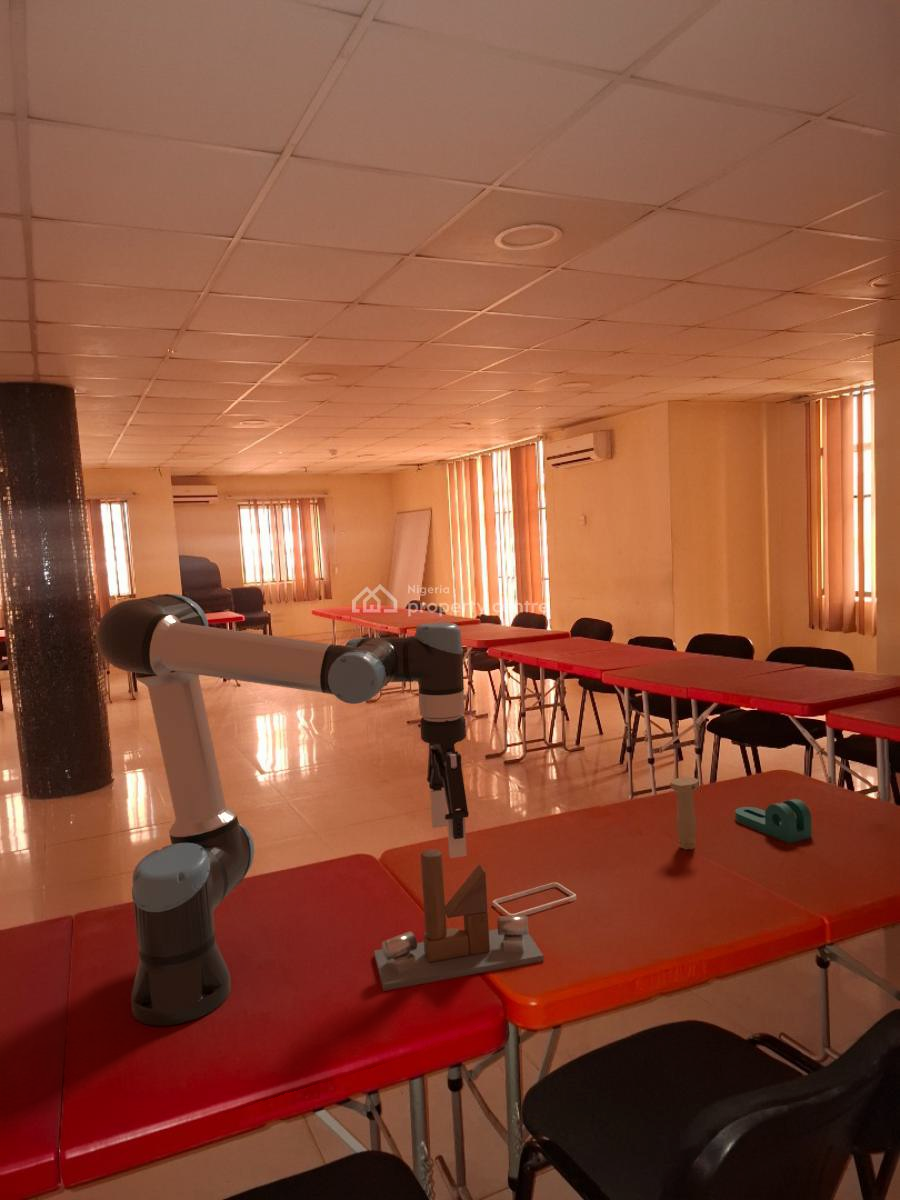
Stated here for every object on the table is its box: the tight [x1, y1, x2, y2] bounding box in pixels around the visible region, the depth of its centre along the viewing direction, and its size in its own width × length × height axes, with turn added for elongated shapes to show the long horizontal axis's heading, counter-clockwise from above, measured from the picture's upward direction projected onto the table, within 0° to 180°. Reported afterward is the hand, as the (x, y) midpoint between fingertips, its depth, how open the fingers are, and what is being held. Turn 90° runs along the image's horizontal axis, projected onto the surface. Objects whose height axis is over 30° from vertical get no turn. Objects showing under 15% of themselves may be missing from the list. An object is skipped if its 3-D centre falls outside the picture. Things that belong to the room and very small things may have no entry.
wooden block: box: [420, 849, 490, 962], centre depth 132 cm, size 4×11×18 cm, turn 103°
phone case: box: [492, 882, 577, 916], centre depth 152 cm, size 7×1×15 cm
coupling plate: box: [373, 928, 545, 992], centre depth 133 cm, size 27×11×1 cm, turn 103°
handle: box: [670, 776, 700, 851], centre depth 173 cm, size 5×6×15 cm
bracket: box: [734, 798, 813, 844], centre depth 181 cm, size 18×7×8 cm, turn 24°
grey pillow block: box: [381, 930, 418, 975], centre depth 130 cm, size 5×4×5 cm
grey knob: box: [497, 915, 529, 952], centre depth 134 cm, size 5×4×5 cm
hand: (448, 840), depth 132 cm, fingers open, 13 cm apart
